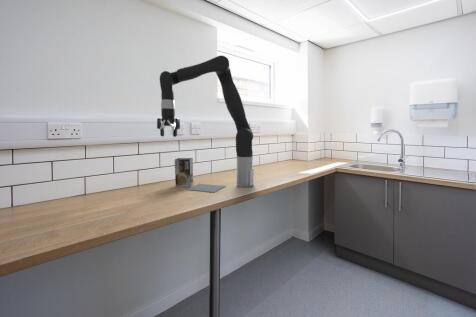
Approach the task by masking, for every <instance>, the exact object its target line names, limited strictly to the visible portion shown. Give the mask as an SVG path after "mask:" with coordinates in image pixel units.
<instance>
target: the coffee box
mask: <svg viewBox="0 0 476 317" xmlns="http://www.w3.org/2000/svg"><path fill="white" fill-rule="evenodd" d="M193 162H194V161H193V157H177V158H175V159H174V179H175V181H174V182H175V188H190V187H192V186H194V165H193Z"/></svg>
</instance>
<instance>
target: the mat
mask: <svg viewBox="0 0 476 317" xmlns="http://www.w3.org/2000/svg"><path fill="white" fill-rule="evenodd" d="M224 188H227V187H226V185H221V184H219V185H218V184H207V183H197V184H195V185H193V186H192V187H186V189H185V190H186V191H196V192H204V193H216V192H219V191H220V190H222V189H224Z"/></svg>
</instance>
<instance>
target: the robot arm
mask: <svg viewBox="0 0 476 317" xmlns="http://www.w3.org/2000/svg"><path fill="white" fill-rule="evenodd" d="M230 65H231V64H230V61H229V58H228V57H227V56H225V55H218V56H214V57H212V58H211V59H208V60H206V61H203V62H200V63H197V64H195V65H190V66H185V67H182V68H179V69H177V70H176V71H174V72H173V71H171V72H169V71H166V70H164V71H162V72H161V73H160V75H159V84H160V85H159V86H160V92H161V93H160V94H161V96H160V97H161V98H160V99H161V102H160V103H161V104H160V108H161V109H160V111H161V118H156V119H157V120H156V129H157V130H159V131H160V133H159V134H160V137H165V129H166V127H171V128H172V130H173V131H172V136H173V137H174V138H175V137H177V136H178V130H180V129H181V120H180V118H179V117H177V118H176V117H175V116H176V106H175V105H176V103H175V92H174V90H173V86H174V85H177V84H180V83H182V82H186V81H190V80H194V79H196V78H199V77H201V76H203V75H206V74H210V73H215V74H216V76H217V78H218V81H219V83H220V85H221V91H222V96H223V99H224V103H225V105H226V109H227V110H228V112H229V114H230V116H231V118H232V120H233V121H234V125H235V129H236V134H235V152H236V186H237V187H241V188H248V187H249V188H251V187H252V186H254V171H255V170H254V168H253V164H254V163H253V158H254V157H253V153H254V151H253V139H254V134H253V131H252V129H251V127H250V124H249V122H248V119H247V116H246V112H245V106H244V104H243V101H242V97H241V95H240V92H239V90H238V87H237V86H236V84H235V82H234V80H233V77H232V72H231V66H230Z"/></svg>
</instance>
